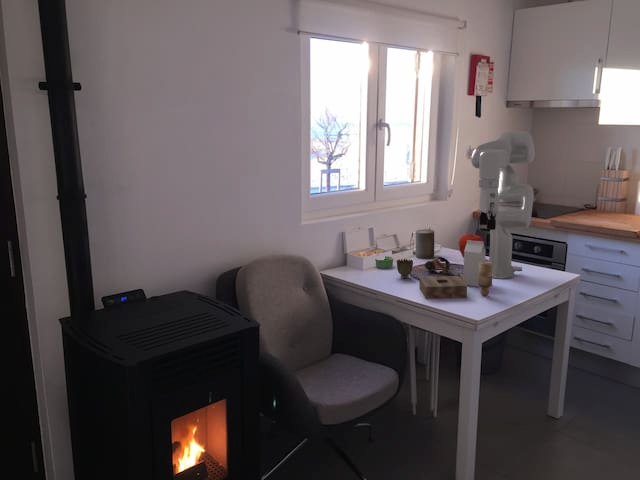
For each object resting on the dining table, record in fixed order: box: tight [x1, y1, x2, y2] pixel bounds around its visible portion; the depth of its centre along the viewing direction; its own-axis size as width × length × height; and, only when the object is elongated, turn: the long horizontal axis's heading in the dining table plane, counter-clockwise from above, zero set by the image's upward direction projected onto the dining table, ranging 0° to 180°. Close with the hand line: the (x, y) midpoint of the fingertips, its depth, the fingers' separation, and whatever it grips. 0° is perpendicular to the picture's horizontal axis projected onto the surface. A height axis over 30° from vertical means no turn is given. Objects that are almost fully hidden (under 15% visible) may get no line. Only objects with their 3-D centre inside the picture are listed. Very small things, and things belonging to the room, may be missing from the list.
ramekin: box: [374, 255, 394, 270], centre depth 265 cm, size 9×9×4 cm
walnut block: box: [418, 275, 468, 300], centre depth 223 cm, size 16×14×5 cm
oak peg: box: [478, 261, 493, 298], centre depth 217 cm, size 5×5×14 cm
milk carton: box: [462, 240, 486, 288], centre depth 232 cm, size 7×7×19 cm
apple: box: [458, 234, 484, 259], centre depth 269 cm, size 12×12×14 cm
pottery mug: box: [424, 256, 451, 275], centre depth 252 cm, size 12×10×8 cm
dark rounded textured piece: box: [396, 258, 414, 280], centre depth 245 cm, size 8×7×8 cm
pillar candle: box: [415, 228, 435, 260], centre depth 280 cm, size 10×10×15 cm
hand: (487, 227), depth 212 cm, fingers open, 9 cm apart
